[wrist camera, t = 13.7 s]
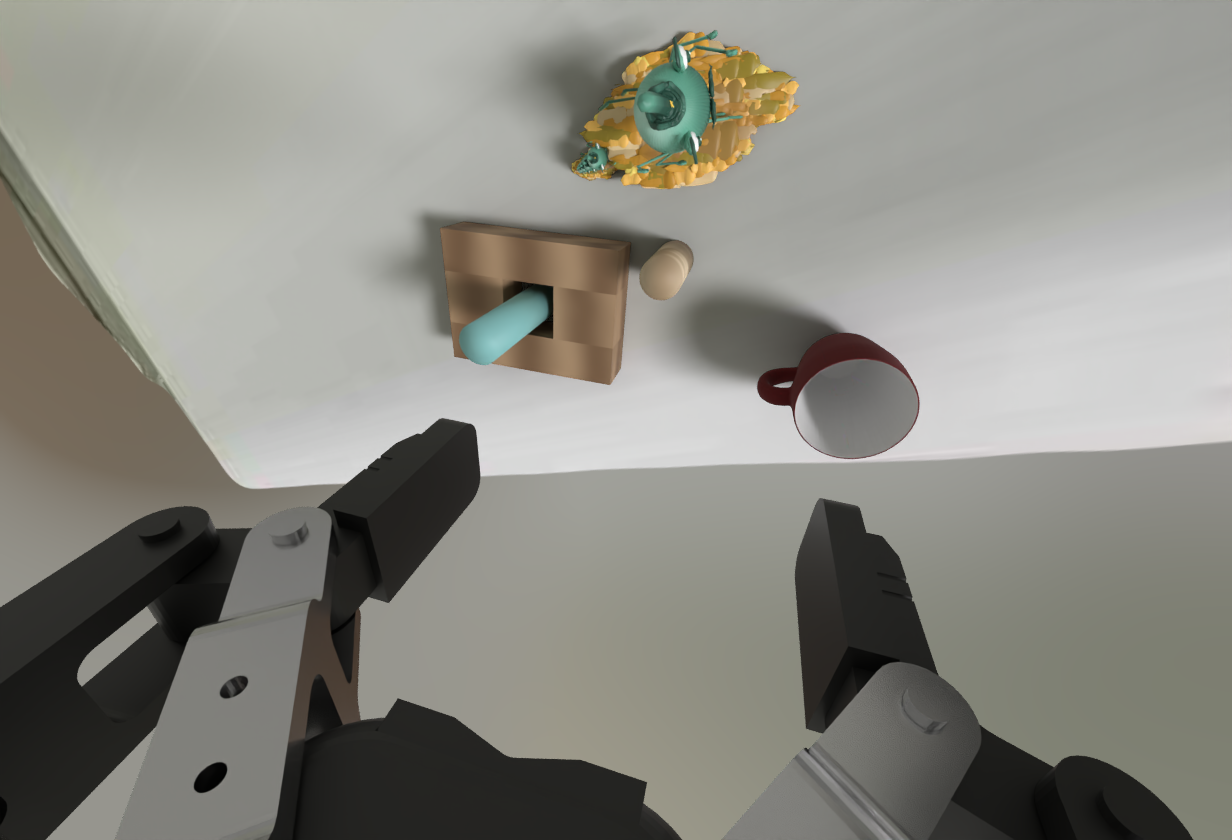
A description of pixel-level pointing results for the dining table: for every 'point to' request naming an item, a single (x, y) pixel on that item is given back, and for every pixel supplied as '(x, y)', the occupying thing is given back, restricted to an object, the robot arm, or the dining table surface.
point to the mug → (846, 396)
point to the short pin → (666, 270)
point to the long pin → (506, 324)
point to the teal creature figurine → (684, 114)
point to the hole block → (574, 265)
